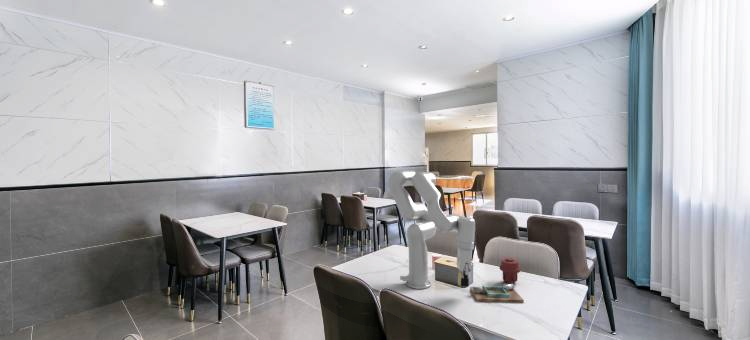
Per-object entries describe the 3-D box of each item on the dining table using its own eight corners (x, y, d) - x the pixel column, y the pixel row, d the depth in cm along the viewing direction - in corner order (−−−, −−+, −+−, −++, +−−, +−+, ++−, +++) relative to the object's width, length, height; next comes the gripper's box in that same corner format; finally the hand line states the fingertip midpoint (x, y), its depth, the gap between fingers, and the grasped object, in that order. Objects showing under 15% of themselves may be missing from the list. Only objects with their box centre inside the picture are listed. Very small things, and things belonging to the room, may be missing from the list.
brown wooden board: (477, 301, 143) (477, 292, 143) (470, 289, 157) (470, 280, 157) (523, 302, 141) (523, 292, 141) (512, 290, 155) (512, 281, 155)
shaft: (507, 293, 150) (507, 285, 150) (501, 290, 153) (501, 283, 153) (515, 291, 152) (515, 283, 152) (509, 288, 155) (509, 281, 155)
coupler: (458, 286, 145) (459, 273, 144) (457, 282, 150) (457, 269, 149) (469, 287, 144) (470, 273, 144) (467, 283, 149) (468, 269, 149)
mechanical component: (518, 279, 169) (522, 287, 159) (498, 278, 171) (501, 285, 161) (518, 256, 168) (522, 262, 159) (497, 255, 170) (501, 261, 161)
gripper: (454, 239, 155) (452, 276, 156) (460, 249, 138) (458, 291, 139) (469, 240, 154) (467, 277, 155) (478, 251, 137) (475, 292, 138)
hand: (463, 283), depth 147 cm, fingers closed on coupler, 4 cm apart
